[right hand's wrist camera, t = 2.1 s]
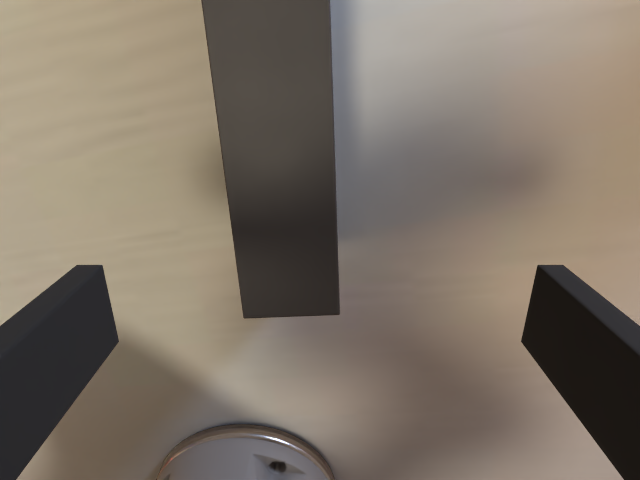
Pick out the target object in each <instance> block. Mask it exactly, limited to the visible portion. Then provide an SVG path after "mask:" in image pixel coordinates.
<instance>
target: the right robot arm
mask: <svg viewBox="0 0 640 480" xmlns="http://www.w3.org/2000/svg"><path fill="white" fill-rule="evenodd" d="M118 342H119V340H118V335H117V331H116V326H115V321H114V317H113V312H112V308H111V303H110V298H109V294H108V289H107V284H106V280H105V275H104V270H103V266H102V265H76V266H75V267H74V268H73V269H71V270H70V271H69V272H68V273H66V274H65V275H64V276H63V277H61V278H60V279H59V280H58V281H56V282H55V283H54V284H53V285H51V286H50V287H49V288H48V289H46V290H45V291H44V292H42V293H41V294H40V295H39V296H37V297H36V298H35V299H34V300H32V301H31V302H30V303H29V304H27V305H26V306H25V307H24V308H22V309H21V310H20V311H19V312H17V313H16V314H15V315H14V316H12V317H11V318H10V319H9V320H7V321H6V322H5V323H4V324H2V325H1V326H0V480H16V479H17V478H18V476H19V475H20V474H21V472H22V471H23V470H24V468H25V467H26V465H27V464H28V463H29V461H30V460H31V459H32V457H33V456H34V455H35V453H36V452H37V451H38V449H39V448H40V447H41V445H42V444H43V443H44V441H45V440H46V439H47V437H48V436H49V435H50V433H51V432H52V431H53V429H54V428H55V427H56V425H57V424H58V423H59V421H60V420H61V419H62V417H63V416H64V414H65V413H66V412H67V410H68V409H69V408H70V406H71V405H72V404H73V402H74V401H75V400H76V398H77V397H78V396H79V394H80V393H81V392H82V390H83V389H84V388H85V386H86V385H87V384H88V382H89V381H90V380H91V378H92V377H93V376H94V374H95V373H96V372H97V370H98V369H99V367H100V366H101V365H102V363H103V362H104V361H105V359H106V358H107V357H108V355H109V354H110V353H111V351H112V350H113V349H114V347H115V346H116V345H117V343H118ZM521 342H522V343H523V345H524V346H525V347H526V349H527V350H528V351H529V353H530V354H531V355H532V357H533V358H534V359H535V361H536V362H537V363H538V365H539V366H540V367H541V369H542V370H543V372H544V373H545V374H546V376H547V377H548V378H549V380H550V381H551V382H552V384H553V385H554V386H555V388H556V389H557V390H558V392H559V393H560V394H561V396H562V397H563V398H564V400H565V401H566V402H567V404H568V405H569V406H570V408H571V409H572V410H573V412H574V413H575V414H576V416H577V417H578V419H579V420H580V421H581V423H582V424H583V425H584V427H585V428H586V429H587V431H588V432H589V433H590V435H591V436H592V437H593V439H594V440H595V441H596V443H597V444H598V445H599V447H600V448H601V449H602V451H603V452H604V453H605V455H606V456H607V457H608V459H609V460H610V461H611V463H612V464H613V465H614V467H615V468H616V470H617V471H618V472H619V474H620V475H621V476H622V478H623V479H624V480H640V326H639V325H638V324H636V323H635V322H634V321H633V320H631V319H630V318H629V317H628V316H626V315H625V314H624V313H623V312H621V311H620V310H619V309H618V308H616V307H615V306H614V305H613V304H611V303H610V302H609V301H608V300H606V299H605V298H604V297H603V296H601V295H600V294H599V293H597V292H596V291H595V290H594V289H592V288H591V287H590V286H589V285H587V284H586V283H585V282H584V281H582V280H581V279H580V278H579V277H577V276H576V275H575V274H574V273H572V272H571V271H570V270H569V269H567V268H566V267H565V266H564V265H538V266H537V270H536V275H535V280H534V284H533V289H532V294H531V298H530V303H529V308H528V312H527V317H526V321H525V326H524V331H523V335H522V340H521ZM156 480H334V476H333V474H332V471H331V469H330V467H329V466H328V464H327V463H326V461H325V460H324V459H323V457H322V456H321V455H320V454H319V453H318V452H317V451H316V450H315V449H314V448H312V447H311V446H310V445H309V444H307V443H305V442H304V441H302V440H301V439H299V438H297V437H295V436H293V435H291V434H288V433H286V432H283V431H280V430H277V429H274V428H270V427H265V426H259V425H249V424H235V425H224V426H218V427H213V428H210V429H206V430H203V431H201V432H198V433H196V434H194V435H192V436H190V437H188V438H187V439H185V440H183V441H182V442H181V443H179V444H178V445H177V446H176V447H175V448H174V449H173V450H172V451H171V452H170V453H169V454H168V456H167V457H166V459H165V461H164V462H163V465H162V467H161V469H160V472H159V474H158V477H157V479H156Z"/></svg>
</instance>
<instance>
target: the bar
mask: <svg viewBox="0 0 640 480" xmlns="http://www.w3.org/2000/svg"><path fill="white" fill-rule="evenodd" d="M202 8H203V15H204V23H205V30H206V38H207V45H208V53H209V61H210V68H211V76H212V83H213V91H214V98H215V106H216V113H217V121H218V128H219V136H220V144H221V151H222V159H223V166H224V174H225V181H226V189H227V196H228V204H229V211H230V219H231V227H232V234H233V242H234V249H235V257H236V264H237V272H238V279H239V287H240V294H241V302H242V310H243V317H244V318H268V317H294V316H321V315H339V314H340V305H339V273H338V241H337V209H336V177H335V145H334V113H333V80H332V48H331V16H330V0H202Z"/></svg>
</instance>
